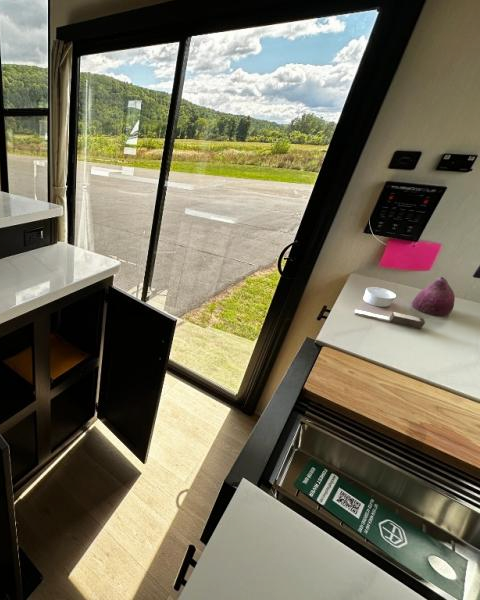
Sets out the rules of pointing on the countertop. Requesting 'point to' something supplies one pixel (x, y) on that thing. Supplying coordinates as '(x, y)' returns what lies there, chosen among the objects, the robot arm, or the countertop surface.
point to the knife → (396, 319)
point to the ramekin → (379, 296)
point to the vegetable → (435, 298)
